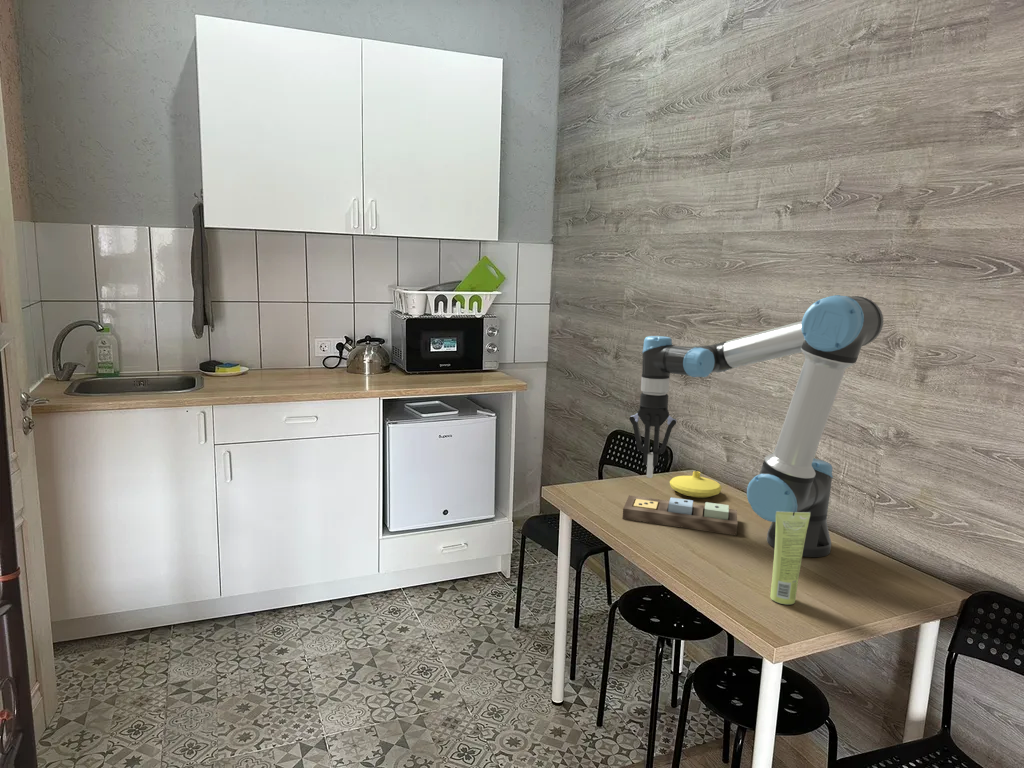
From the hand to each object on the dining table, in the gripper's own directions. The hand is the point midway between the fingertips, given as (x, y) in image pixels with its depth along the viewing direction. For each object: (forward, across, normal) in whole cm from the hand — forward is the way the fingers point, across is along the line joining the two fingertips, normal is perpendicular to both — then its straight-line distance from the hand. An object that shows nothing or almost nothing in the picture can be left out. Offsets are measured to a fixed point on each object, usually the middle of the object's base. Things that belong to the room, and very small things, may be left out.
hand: (649, 476), depth 191 cm
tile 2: (+10, -9, 0) cm, 13 cm away
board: (+12, -9, 0) cm, 14 cm away
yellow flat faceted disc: (+12, -12, -26) cm, 31 cm away
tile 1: (+10, -18, 0) cm, 21 cm away
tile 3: (+11, +1, 0) cm, 11 cm away
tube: (+13, -33, +41) cm, 54 cm away
